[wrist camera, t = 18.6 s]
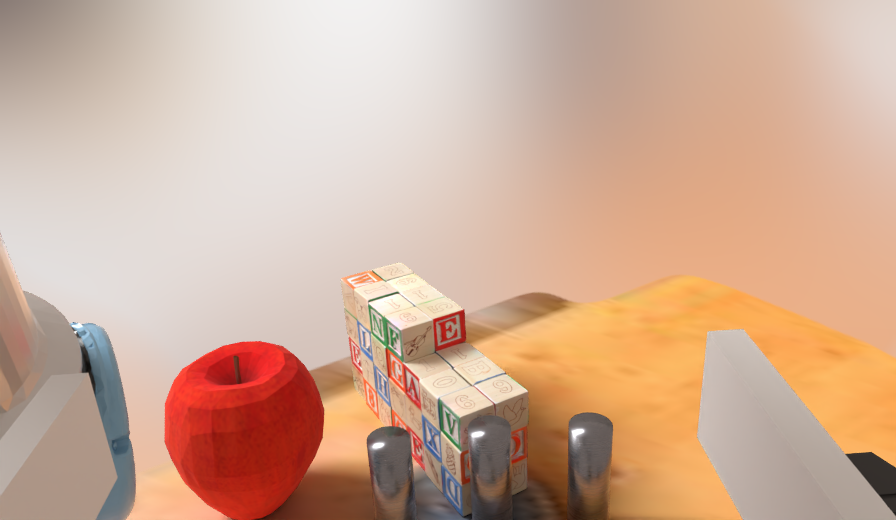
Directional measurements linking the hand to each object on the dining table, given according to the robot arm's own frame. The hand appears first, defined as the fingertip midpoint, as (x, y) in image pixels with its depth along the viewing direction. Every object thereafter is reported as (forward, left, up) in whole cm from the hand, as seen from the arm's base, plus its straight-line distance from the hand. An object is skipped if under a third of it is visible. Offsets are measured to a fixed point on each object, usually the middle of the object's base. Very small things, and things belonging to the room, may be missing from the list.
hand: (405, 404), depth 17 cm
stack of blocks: (0, +42, -32) cm, 53 cm away
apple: (-14, +35, -32) cm, 49 cm away
